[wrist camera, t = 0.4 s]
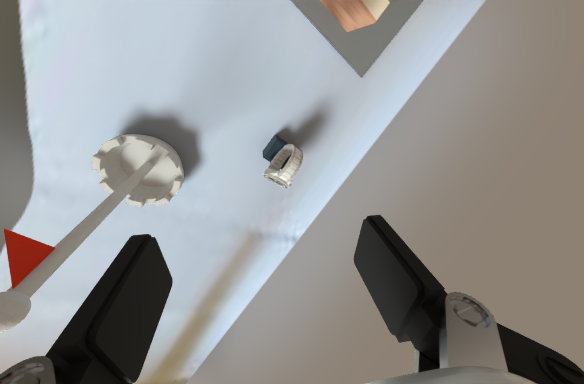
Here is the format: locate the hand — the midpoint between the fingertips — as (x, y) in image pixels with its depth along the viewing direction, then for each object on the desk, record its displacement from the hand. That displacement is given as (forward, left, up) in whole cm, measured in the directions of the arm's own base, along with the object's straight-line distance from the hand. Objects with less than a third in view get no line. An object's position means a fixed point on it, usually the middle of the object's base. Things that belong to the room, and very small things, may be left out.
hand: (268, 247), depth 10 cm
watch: (+8, -4, -34) cm, 35 cm away
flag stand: (-11, -20, -34) cm, 41 cm away
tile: (+1, +20, -33) cm, 39 cm away
